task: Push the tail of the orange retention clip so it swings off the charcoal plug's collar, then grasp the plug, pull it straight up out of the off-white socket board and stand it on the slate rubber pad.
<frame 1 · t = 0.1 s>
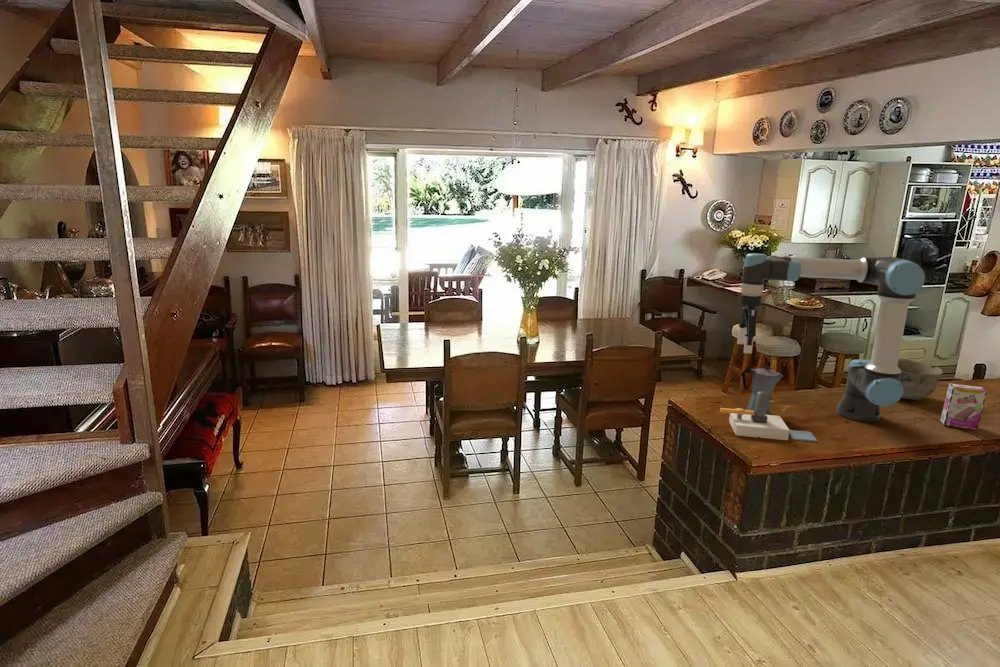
hand: (744, 348, 230), 28 cm above the table, fingers open, 13 cm apart
clip: (737, 411, 222), point 7 cm above the table, hinge at 0.0°
pad: (801, 436, 218), on the table
candy bar box: (958, 426, 231), on the table
plug: (757, 430, 223), resting in socket board
moka pot: (757, 412, 241), on the table
bowl: (905, 398, 261), on the table
socket board: (757, 430, 223), on the table
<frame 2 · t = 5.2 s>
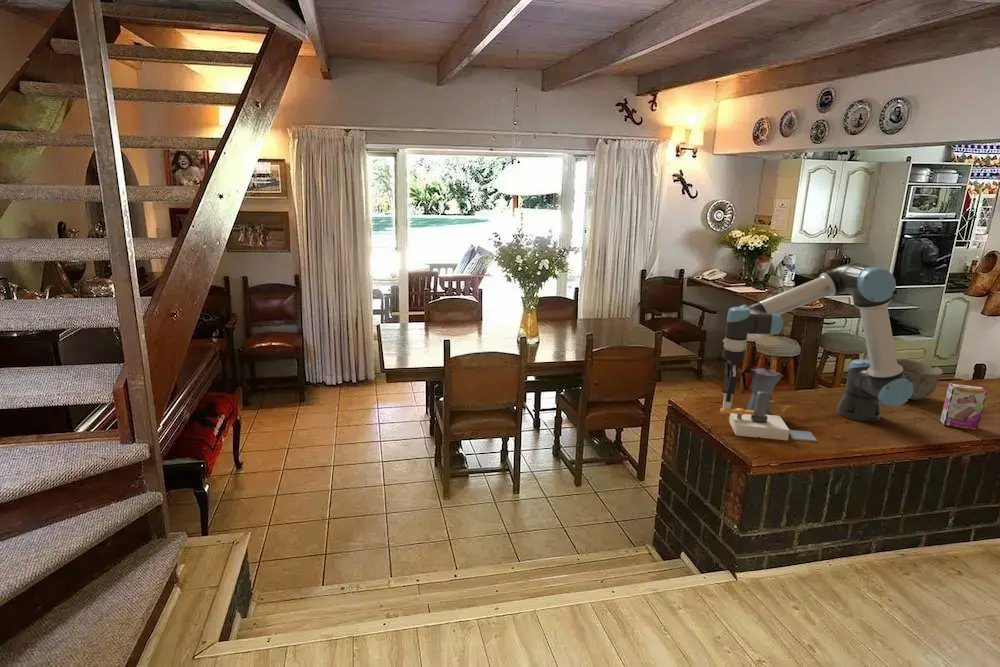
hand: (726, 408, 224), 7 cm above the table, fingers closed
clip: (737, 411, 222), point 7 cm above the table, hinge at 4.9°, touching gripper
everything else where it was.
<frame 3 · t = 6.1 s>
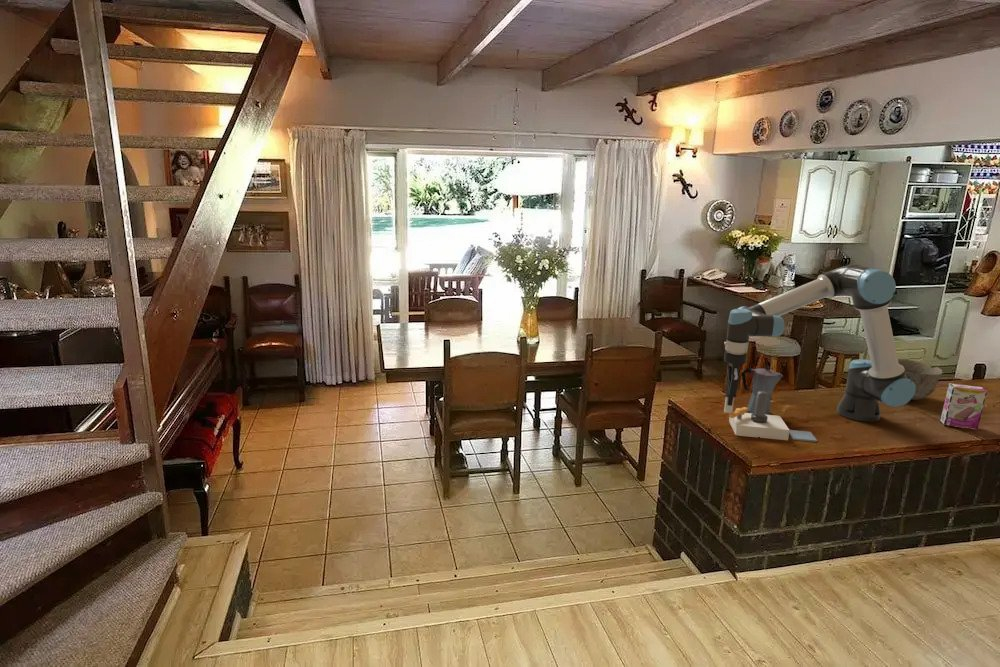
hand: (728, 412, 221), 7 cm above the table, fingers closed
clip: (738, 412, 222), point 7 cm above the table, hinge at 53.1°, touching gripper
everything else where it was.
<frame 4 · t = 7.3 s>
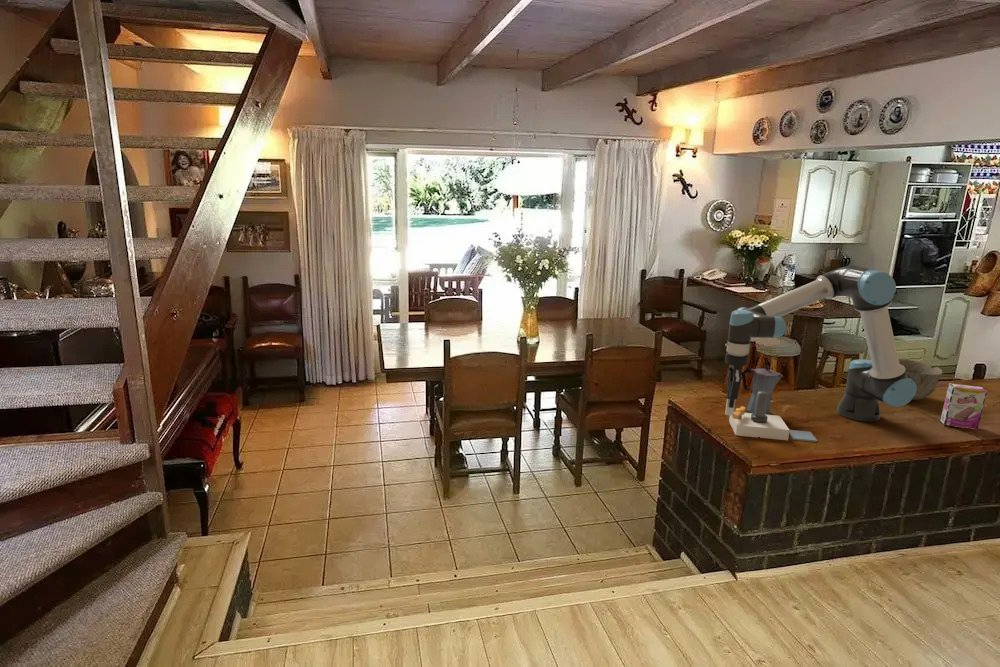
hand: (729, 414, 219), 7 cm above the table, fingers closed
clip: (739, 412, 221), point 7 cm above the table, hinge at 65.2°, touching gripper
everything else where it was.
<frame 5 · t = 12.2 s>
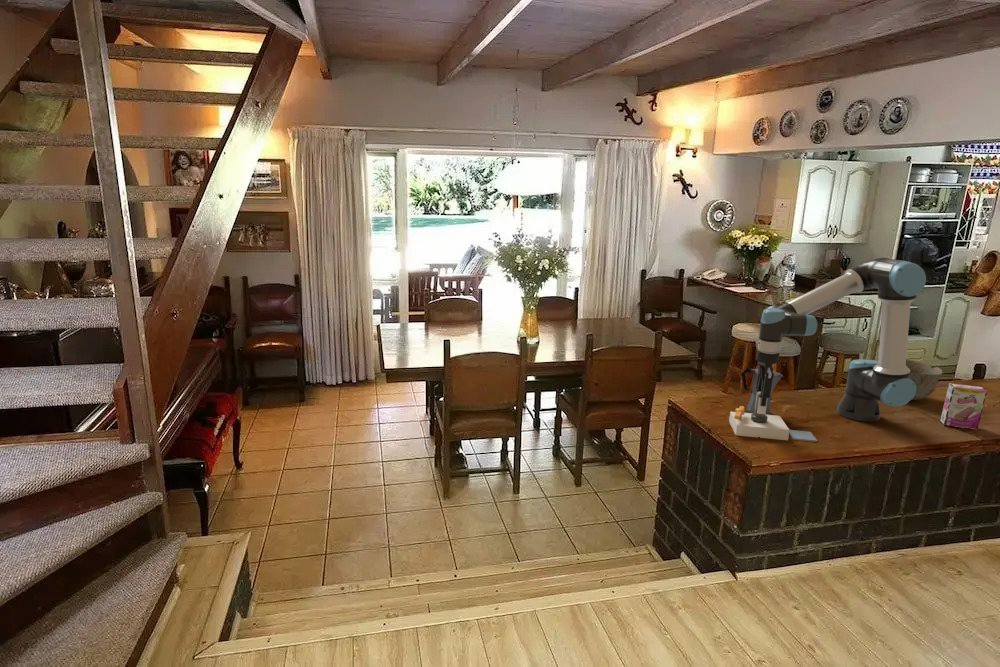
hand: (760, 411, 221), 8 cm above the table, fingers closed on plug, 3 cm apart
clip: (739, 412, 221), point 7 cm above the table, hinge at 70.5°
plug: (757, 430, 223), resting in socket board, touching gripper
everything else where it was.
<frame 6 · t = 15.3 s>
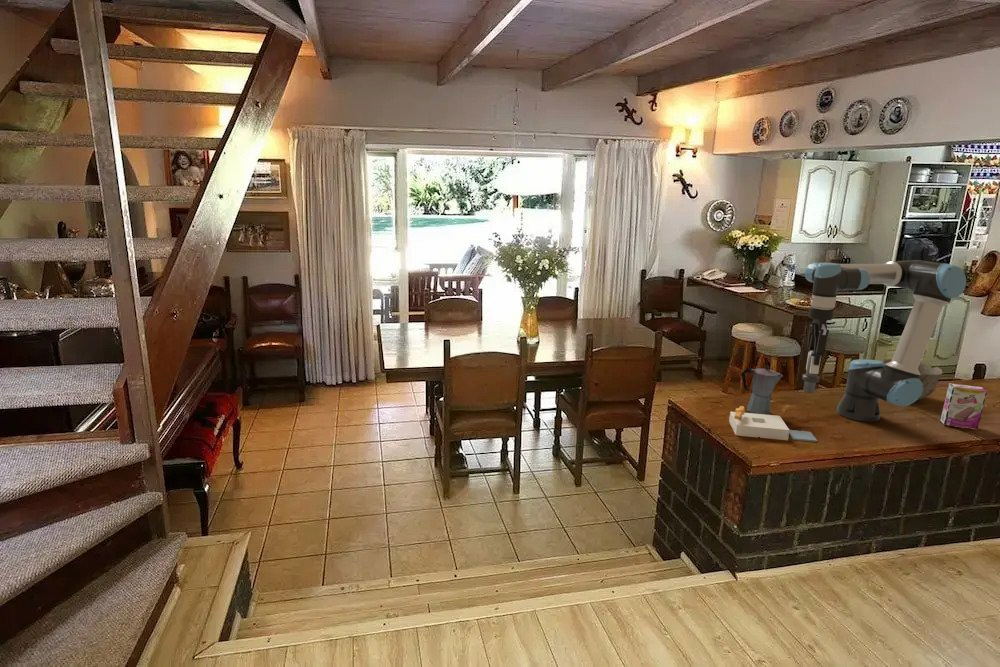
hand: (811, 371, 212), 25 cm above the table, fingers closed on plug, 3 cm apart
plug: (808, 391, 214), point 18 cm above the table, touching gripper
everything else where it was.
when the fingers open (9 cm above the table, at t = 18.4 s): plug drops 1 cm, resting on pad.
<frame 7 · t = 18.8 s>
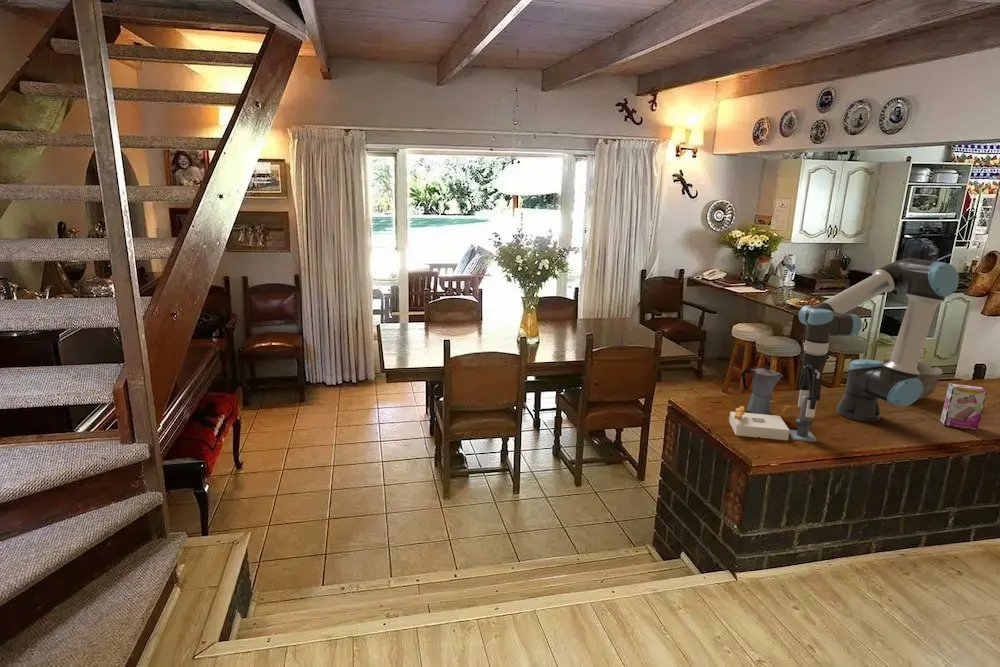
hand: (805, 411, 216), 10 cm above the table, fingers open, 9 cm apart
plug: (802, 434, 218), point 1 cm above the table, touching pad
everything else where it was.
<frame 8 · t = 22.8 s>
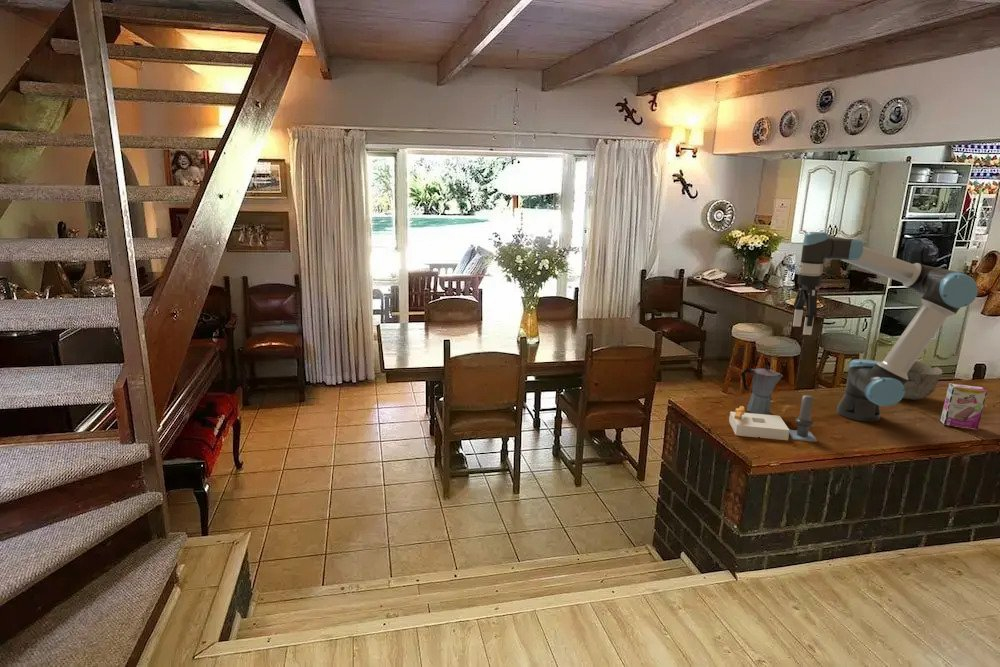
hand: (801, 330, 223), 37 cm above the table, fingers open, 13 cm apart
nothing on the table moved.
at the end: clip at +70° (first picture: +0°); plug inside the target area on the pad (0.0 cm from its centre), point 0.6 cm above the pad's base; plug tilted 0° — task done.
